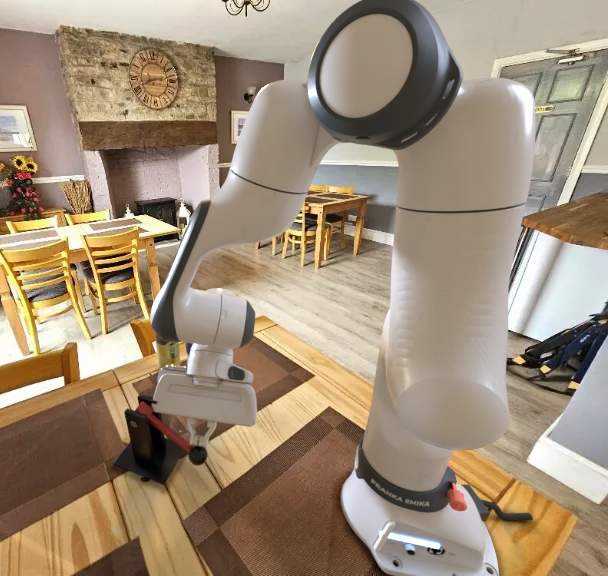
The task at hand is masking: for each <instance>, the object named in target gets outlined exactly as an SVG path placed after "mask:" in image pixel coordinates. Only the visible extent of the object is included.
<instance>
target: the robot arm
mask: <svg viewBox="0 0 608 576" xmlns="http://www.w3.org/2000/svg"><path fill="white" fill-rule="evenodd" d="M536 118H537V117H536V101H535V97H534V94H533V92H532V91H531V90H530V88H529V87H527V85H525V84H524V83H521V82H520V81H517V80H513V79H511V78H504V77H479V78H474V79H465V80H464V72H463V69H462V67H461V65H460V64H459V62H458V60H457V59H456V56H455V54H454V53H453V50H452V49H451V46H450V45H449V43H448V41H447V39H446V37H445V35H444V33H443V31H442V29H441V26H440V25H439V23H438V21H437V20H436V18H435V16H433V15H432V13H431V12H430V11H429V10H428V9H427V8H426V7H425V6H424V5H422V4H421V3H420V2H419V1H417V0H359V1H357V2H356V3H354V4H352V5H351V6H349V7H348V8H346V9H345V10H344V11H342V12H341V13H340V14H339V15H338V16H337V17H336V18H335V19H334V20H333V21H332V22H331V23H330V24H329V26H328V27H327V28H326V29H325V31H324V33H323V34H322V35H321V36H320V39H319V40H318V42H317V44H316V46H315V48H314V50H313V53H312V55H311V58H310V62H309V65H308V69H307V77H306V82H303V81H301V80H296V79H280V80H276V81H273V82H270V83H268V84H266V85H265V86H264V87H262V88H261V89H260V90H259V92H258V93H257V94H256V96H255V97H254V100H253V102H252V104H251V105H250V108H249V111H248V113H247V115H246V118H245V120H244V122H243V125H242V128H241V131H240V133H239V136H238V138H237V142H236V144H235V145H236V146H235V147H234V151H233V155H232V159H231V163H230V167H229V170H228V173H227V175H226V179H225V180H224V182H223V184H222V186H221V187H220V188H219V189H218V191H217V192H216V193H215V194H214V195H213V196H212V197H210V198H207V199H204V200H201V201H200V202H199V203H198V205H197V206H196V207H195V209H194V211H193V212H192V214H191V217H190V218H189V221H188V223H187V225H186V228H185V230H184V232H183V235H182V237H181V239H180V242H179V245H178V247H177V250H176V252H175V254H174V257H173V260H172V262H171V265H170V267H169V270H168V272H167V275H166V278H165V281H164V282H163V285H162V287H161V289H160V290H159V292H158V293H157V294H156V296H155V298H154V300H153V303H152V306H151V309H150V315H149V316H150V317H149V320H150V328H151V329H152V330H153V332H154V334H155V333H156V334H157V335H158V336H159V338H160V339H162V340H163V341H169V342H179V343H185V344H186V343H192V344H193V345H192V347H191V350H190V355H189V361H188V364H187V366H186V365H180V366H174V365H167V366H165V367H163V368H161V370H160V369H159V371H158V374H157V380H156V381H157V385H156V388H155V390H154V394H153V396H152V397H153V400H154V401H157V404H154V403H152V408H153V411H154V412H157V413H161V414H165V415H170V416H171V415H172V416H178V417H183V418H187V420H186V426H187V429H188V432H189V435H190V438H189V443H190V445H193V446H199V447H204V448H206V449H207V448H208V447H209V441H210V437H211V436H212V434H213V433H214V431H215V430H216V429H217V425H218V423H223V424H229V425H236V426H242V427H249V428H253V427H254V426H255V425H256V424H257V420H258V399H257V393H256V390H255V388H254V387H253V386H252V384H253V383H254V380H255V379H254V378H255V377H254V376H255V375H254V374H253V373H252V372H251V371H250V370H249V369H246V368H244V367H242V366H240V365H238V364H234V350H236V349H241V348H243V347H245V346H246V345H248V344H249V343H250V342H252V340H253V339H254V335H255V325H256V316H257V315H256V311H255V309H254V307H253V306H252V304H251V303H250V301H248V299H245V298H243V297H240V296H237V294H236V293H235V292H234V291H232V290H229V289H227V288H224V287H212V288H209V289H207V290H202V289H197V288H194V287H191V284H192V283H193V280H194V278H195V276H196V274H197V271H198V269H199V267H200V265H201V263H202V262H203V261H202V260H203V259H204V258H205V257H206V256H207V255H209V254H210V253H212V252H214V251H217V250H220V249H224V248H228V247H233V246H240V245H241V246H242V245H252V244H253V245H254V244H259V243H263V242H267V241H270V240H272V239H274V238H276V237H278V236H281V235H282V234H284V233H285V232H286V231H288V230H289V229H290V228H291V227H292V225H293V224H294V223H295V221H296V220H297V218H298V216H299V215H300V212H301V211H302V208H303V206H304V203H305V201H306V198H307V196H308V194H309V191H310V188H311V186H312V184H313V181H314V178H315V175H316V173H317V170H318V169H319V166H320V165H321V162H322V160H323V159H324V157H325V155H326V154H328V152H329V151H330V150H331V149H332V148H333V147H335V146H337V145H338V144H345V143H351V144H355V145H361V146H371V147H376V148H381V149H386V150H391V151H393V153H394V154H395V155H396V159H397V164H398V185H397V195H396V208H395V217H394V218H395V221H394V230H393V231H394V232H393V243H392V256H391V267H390V298H389V300H390V301H389V307H388V311H387V313H386V315H385V319H384V321H383V322H384V323H383V327H382V332H381V333H382V334H381V337H380V344H379V349H378V356H377V361H376V369H375V375H374V382H373V387H372V388H373V389H372V397H371V403H370V408H369V412H368V417H367V421H366V425H365V430H364V433H362V435H361V437H360V440H359V444H358V445H357V448H356V452H355V458H354V468H353V470H352V472H351V473H350V475H349V476H348V477H347V479H346V480H344V482H343V484H342V486H341V489H340V498H339V499H340V505H341V509H342V513H343V515H344V518H345V520H346V522H347V523H348V525H349V527H350V528H351V530H352V532H354V534H355V535H356V536H357V538H359V539H360V541H361V542H362V543H364V545H365V546H366V548H368V549H369V551H370V553H371V555H372V556H373V558H374V560H375V562H376V564H377V566H378V567H379V568H380V569H381V571H382V572H383V573H385V574H387V575H390V576H500V572H499V562H498V557H497V553H496V549H495V547H494V542H493V540H492V537H491V535H490V533H489V531H488V528H487V526H486V524H485V522H486V521H487V520H488V518H489V516H490V514H491V512H490V510H489V509H491V510H493V511H494V514H495V515H496V516H497V517H498V518H500V519H502V520H505V521H514V522H515V521H518V522H519V521H533V520H534V519H533V515H532V514H531V513H530V512H511V513H510V512H504V511H502V508H500V506H499V505H498V504H496V503H495V502H492V501H489V500H486V499H482V498H480V497H479V495H478V494H477V492H475V490H474V489H473V488H472V486H471V485H470V484H469V483H468V484H460V483H459V482H458V480H457V476H456V473H455V471H454V469H452V467H451V462H450V461H451V459H452V456H453V454H454V451H459V452H460V451H464V452H465V451H473V450H474V451H475V450H479V449H482V448H485V447H488V446H490V445H492V444H494V443H496V442H497V441H498V440H500V439H501V438H502V437H503V436H504V435H505V433H506V432H507V430H508V428H509V426H510V420H511V419H510V416H511V415H510V408H509V407H510V406H509V399H508V391H507V388H508V387H507V362H508V360H507V359H508V347H509V346H508V344H509V341H508V340H509V289H510V280H511V279H510V278H511V273H512V271H511V270H512V268H513V267H512V266H513V263H514V258H515V254H516V250H517V245H518V240H519V237H520V232H521V228H522V223H523V219H524V215H525V210H526V206H527V201H528V197H529V193H530V192H529V191H530V187H531V181H532V175H533V168H534V160H535V149H536V148H535V147H536V129H537V122H536V121H537V119H536ZM163 369H167V370H163ZM173 370H174V371H173ZM198 420H203V421H207V424H206V427H207V428H208V430H207V431H206V432H205V435H201V434H198V433H197V431H196V427H195V425H197V423H198ZM395 564H396V565H395Z"/></svg>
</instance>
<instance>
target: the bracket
mask: <svg viewBox="0 0 608 576" xmlns="http://www.w3.org/2000/svg"><path fill="white" fill-rule="evenodd" d="M153 397H154V396H150V395H147V394H143V393H139V394H138V395H137V397H136V398H137V404H138V406H139V405H140V403H141V402H142V401H143V402H145V403H146V404H147V405H149V406H150V407H151V408H152V403H154V404H157V401H154V400H153ZM123 414H124V419H125V423H126V428H127V432H128V437H129V442H128V443H127V445H126V446H125V447H124V448H123V450H122V451H121V453H119V455H118V456H117V457H116V459H115V460H114V461H113V463H112V464H113V465H115V466H117V467H119V468H122V469H124V470H127V471H129V472H131V473H134V474H136V475H139V476H141V477H144V478H146V479H149V480H151V481H153V482H156V483H157V484H161V485H162V486H164V485H165V484H166V483H167V481H168V479H169V478H170V476H171V474H172V472H173V470H174V469H175V467H176V466H177V464H178V462H179V460H180V458H181V457H182V455H183V453H184V451H185V450H184V449H183V448H182V447H181V446H179V445H178V444H177V443H175V442H174V441H173V440H172V439H170V438H168V437H165V436H166V435H165V434H164V433H162V432H161V431H160V430H159V429H157V428H156V427H155V426H153V425H152V424H151V423H149V422H148V418H147V415H146V414H143V413H140V412H137V411H135V409H131V408H128V407H127V408H126V409H125V410H124V411H123ZM152 415H154V416H155V417H156V418H158V419H159V420H160V421H161V422H163V416H162V413H157V412H154V411H153V412H152Z"/></svg>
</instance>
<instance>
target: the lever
mask: <svg viewBox="0 0 608 576" xmlns="http://www.w3.org/2000/svg"><path fill="white" fill-rule="evenodd" d="M134 411H137V412H140V413H143V414H146V415H147V418H148V422H149V423H151V424H152V425H153V426H155V427H156V428H157V429H159V430H160V431H161V432H162V433H164V436H166V437H167V438H168V439H170V440H173V441H174V442H175V443H177V444H178V445H179V446H181V447H182V448H183V449H184V451H185V452H187V453H188V460H189V462H190V463H191V465H193V466H196V467H200V466H202V465H204V464H205V463H206V462H207V460H208V456H209V453H208V449H207V448H204V447H199V446H193V445H190V441H188V440H187V439H185V438H184V437H182V436H181V435H180V434H178V433H177V432H176V431H175V430H173V429H172V428H171V427H169V426H168V425H167V424H165V422H163V421H162V422H161V421H160V420H159V419H158V418H156V417H155V416H154V415H152V412H153V408H151V407H150V406H149V405H147V404H146V403H145V402H143V401H142V402H141V403H140V405H139V404H138V406H137V407H136V408H135V409H134Z"/></svg>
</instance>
